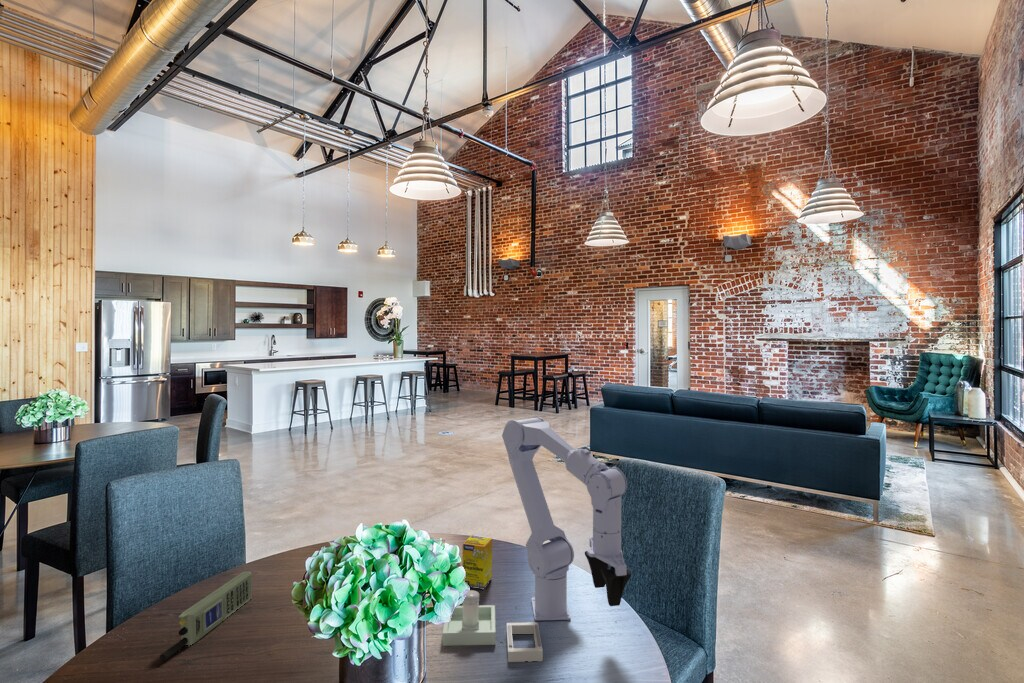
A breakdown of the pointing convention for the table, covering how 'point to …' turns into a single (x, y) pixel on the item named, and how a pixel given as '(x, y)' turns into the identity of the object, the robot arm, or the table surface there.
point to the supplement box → (477, 561)
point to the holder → (524, 653)
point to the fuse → (471, 611)
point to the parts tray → (473, 637)
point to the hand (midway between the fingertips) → (606, 595)
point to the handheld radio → (212, 611)
